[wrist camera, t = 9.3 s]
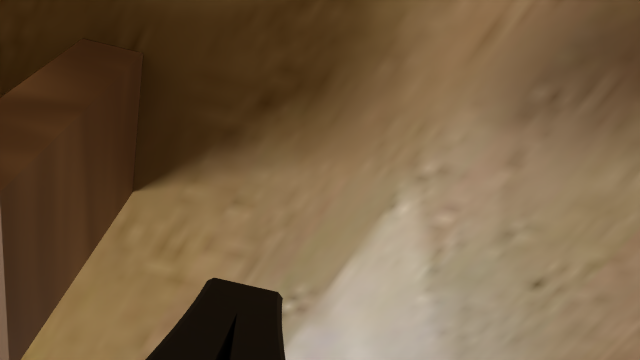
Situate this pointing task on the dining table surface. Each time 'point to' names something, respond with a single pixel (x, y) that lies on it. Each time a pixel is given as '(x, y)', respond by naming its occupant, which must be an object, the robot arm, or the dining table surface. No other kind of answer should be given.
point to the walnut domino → (61, 177)
